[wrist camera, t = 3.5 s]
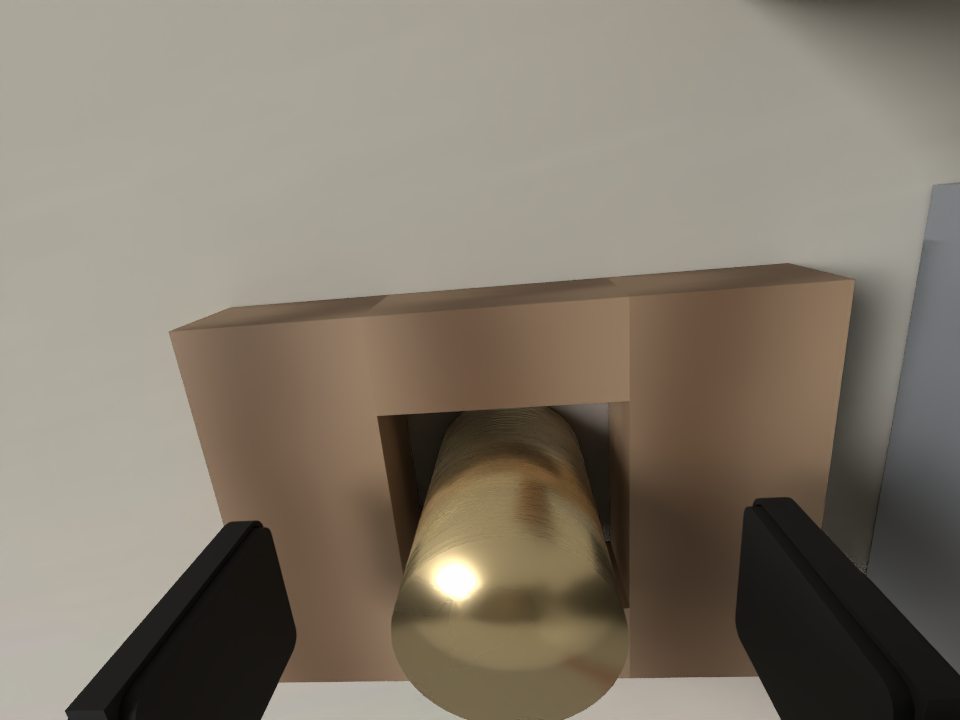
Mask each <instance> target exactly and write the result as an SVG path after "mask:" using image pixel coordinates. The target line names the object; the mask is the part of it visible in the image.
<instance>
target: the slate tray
mask: <svg viewBox="0 0 960 720" xmlns="http://www.w3.org/2000/svg"><path fill="white" fill-rule="evenodd" d="M866 576H867V577H868V578H869V579H870V580H871V581H872V582H873V583H874V584H875V585H876V586H877V587H878V588H879V589H880V590H881V592H882V593H883V594H884V595H885V596H886V597H887V598H888V599H889V600H890V601H891V602H892V603H893V604H894V605H895V606H896V608H897V609H898V610H899V611H900V612H901V613H902V614H903V615H904V616H905V617H906V618H907V619H908V620H909V621H910V622H911V624H912V625H913V626H914V627H915V628H916V629H917V630H918V631H919V632H920V633H921V634H922V635H923V636H924V637H925V638H926V640H927V641H928V642H929V643H930V644H931V645H932V646H933V647H934V648H935V649H936V650H937V651H938V652H939V653H940V654H941V655H942V657H943V658H944V659H945V660H946V661H947V662H948V663H949V664H950V665H951V666H952V667H953V668H954V669H955V670H956V671H957V673H958V674H959V675H960V183H950V184H939V185H933V190H932V196H931V202H930V208H929V213H928V219H927V225H926V231H925V237H924V243H923V248H922V254H921V260H920V266H919V272H918V278H917V283H916V289H915V295H914V301H913V307H912V312H911V318H910V324H909V330H908V336H907V342H906V347H905V353H904V359H903V365H902V371H901V376H900V382H899V388H898V394H897V400H896V406H895V411H894V417H893V423H892V429H891V435H890V441H889V446H888V452H887V458H886V464H885V470H884V475H883V481H882V487H881V493H880V499H879V505H878V510H877V516H876V522H875V528H874V534H873V539H872V545H871V551H870V557H869V563H868V569H867V574H866Z"/></svg>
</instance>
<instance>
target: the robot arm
mask: <svg viewBox="0 0 960 720" xmlns="http://www.w3.org/2000/svg"><path fill="white" fill-rule="evenodd" d="M735 623H736V629H737V633H738V636H739V639H740V641H741V643H742V645H743V647H744V649H745V651H746V653H747V655H748V657H749V659H750V660H751V662H752V664H753V666H754V668H755V670H756V672H757V674H758V676H759V678H760V680H761V682H762V684H763V686H764V687H765V689H766V691H767V693H768V695H769V697H770V699H771V701H772V703H773V705H774V707H775V709H776V711H777V713H778V715H779V716H780V718H781V720H960V675H959V674H958V673H957V671H956V670H955V669H954V668H953V667H952V666H951V665H950V664H949V663H948V662H947V661H946V660H945V659H944V658H943V657H942V655H941V654H940V653H939V652H938V651H937V650H936V649H935V648H934V647H933V646H932V645H931V644H930V643H929V642H928V641H927V640H926V638H925V637H924V636H923V635H922V634H921V633H920V632H919V631H918V630H917V629H916V628H915V627H914V626H913V625H912V624H911V622H910V621H909V620H908V619H907V618H906V617H905V616H904V615H903V614H902V613H901V612H900V611H899V610H898V609H897V608H896V606H895V605H894V604H893V603H892V602H891V601H890V600H889V599H888V598H887V597H886V596H885V595H884V594H883V593H882V592H881V590H880V589H879V588H878V587H877V586H876V585H875V584H874V583H873V582H872V581H871V580H870V579H869V578H868V577H867V576H866V575H864V574H863V573H862V572H860V571H859V570H858V568H857V567H856V566H855V565H854V564H853V563H852V562H851V561H850V560H849V559H848V558H847V557H846V556H845V554H844V553H843V552H842V551H841V550H840V549H839V548H838V547H837V546H836V545H835V544H834V543H833V542H832V541H831V539H830V538H829V537H828V536H827V535H826V534H825V533H824V532H823V531H822V530H821V529H820V528H819V527H818V526H817V524H816V523H815V522H814V521H813V520H812V519H811V518H810V517H809V516H808V515H807V514H806V513H805V512H804V510H803V509H802V508H801V507H800V506H799V505H798V504H797V503H796V502H795V501H794V500H793V499H792V498H790V497H773V498H757V499H755V500H754V502H753V506H749V507H746V508H745V510H744V515H743V527H742V540H741V552H740V564H739V576H738V589H737V601H736V613H735ZM296 638H297V632H296V627H295V623H294V619H293V615H292V611H291V607H290V603H289V599H288V595H287V591H286V588H285V584H284V580H283V576H282V572H281V568H280V564H279V560H278V556H277V552H276V548H275V545H274V541H273V537H272V533H271V531H270V529H269V528H267V527H264V526H263V524H262V523H261V522H260V521H257V520H254V521H232V522H228V523H227V524H226V525H225V526H224V527H223V528H222V529H221V531H220V532H219V533H218V534H217V535H216V536H215V538H214V539H213V540H212V541H211V542H210V543H209V544H208V546H207V547H206V548H205V549H204V550H203V551H202V553H201V554H200V555H199V556H198V557H197V558H196V560H195V561H194V562H193V563H192V564H191V565H190V567H189V568H188V569H187V570H186V571H185V572H184V573H183V575H182V576H181V577H180V578H179V579H178V580H177V582H176V583H175V584H174V585H173V586H172V587H171V589H170V590H169V591H168V592H167V593H166V594H165V595H164V597H163V598H162V599H161V600H160V601H159V602H158V604H157V605H156V606H155V607H154V608H153V609H152V611H151V612H150V613H149V614H148V615H147V616H146V618H145V619H144V620H143V621H142V622H141V623H140V624H139V626H138V627H137V628H136V629H135V630H134V631H133V633H132V634H131V635H130V636H129V637H128V638H127V640H126V641H125V642H124V643H123V644H122V645H121V647H120V648H119V649H118V650H117V651H116V652H115V653H114V655H113V656H112V657H111V658H110V659H109V660H108V662H107V663H106V664H105V665H104V666H103V667H102V669H101V670H100V671H99V672H98V673H97V674H96V675H95V677H94V678H93V679H92V680H91V681H90V682H89V684H88V685H87V686H86V687H85V688H84V689H83V691H82V692H81V693H80V694H79V695H78V696H77V698H76V699H75V700H74V701H73V702H72V703H71V704H70V706H69V707H68V708H67V709H66V710H65V712H66V714H67V716H68V720H261V718H262V716H263V714H264V712H265V710H266V708H267V705H268V703H269V701H270V699H271V697H272V695H273V693H274V691H275V689H276V687H277V684H278V682H279V680H280V678H281V676H282V674H283V672H284V670H285V668H286V665H287V663H288V661H289V659H290V657H291V655H292V653H293V650H294V648H295V644H296Z"/></svg>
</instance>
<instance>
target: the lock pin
mask: <svg viewBox="0 0 960 720" xmlns="http://www.w3.org/2000/svg"><path fill="white" fill-rule="evenodd" d="M391 639H392V645H393V649H394V653H395V656H396V658H397V660H398V663H399V665H400V667H401V669H402V670H403V672H404V673H405V675H406V677H407V678H408V679H409V680H410V682H411V683H412V684H413V685H414V686H415V688H417V689H418V690H419V691H420V692H421V693H422V694H423V695H424V696H425V697H426V698H428V699H429V700H430V701H432V702H433V703H434V704H436V705H438V706H439V707H441V708H443V709H444V710H446V711H448V712H450V713H452V714H454V715H457V716H459V717H461V718H464V719H467V720H563V719H566V718H569V717H571V716H573V715H575V714H577V713H579V712H581V711H583V710H585V709H587V708H588V707H590V706H591V705H593V704H594V703H595V702H597V701H598V700H599V699H600V698H601V697H602V696H604V695H605V694H606V692H607V691H608V690H609V689H610V688H611V687H612V686H613V684H614V683H615V681H616V680H617V678H618V677H619V675H620V673H621V671H622V669H623V667H624V664H625V661H626V658H627V654H628V647H629V630H628V624H627V620H626V616H625V612H624V609H623V605H622V601H621V597H620V594H619V590H618V586H617V582H616V579H615V575H614V571H613V568H612V564H611V560H610V556H609V553H608V549H607V545H606V542H605V538H604V534H603V530H602V527H601V523H600V519H599V516H598V512H597V508H596V504H595V501H594V497H593V493H592V489H591V486H590V482H589V478H588V475H587V471H586V467H585V463H584V460H583V456H582V452H581V449H580V445H579V442H578V439H577V437H576V435H575V433H574V431H573V430H572V428H571V426H570V425H569V424H568V423H567V422H566V420H565V419H564V418H563V417H562V416H560V415H559V414H558V413H557V412H555V411H554V410H553V409H551V408H549V407H548V406H538V407H521V408H504V409H487V410H470V411H464V412H463V413H461V414H460V415H459V416H458V417H457V418H456V419H455V420H454V422H453V423H452V424H451V425H450V427H449V428H448V430H447V432H446V434H445V436H444V438H443V441H442V444H441V448H440V451H439V454H438V458H437V461H436V465H435V468H434V472H433V475H432V479H431V482H430V486H429V489H428V493H427V496H426V499H425V503H424V506H423V510H422V513H421V517H420V520H419V524H418V527H417V531H416V534H415V537H414V541H413V544H412V548H411V551H410V555H409V558H408V562H407V565H406V569H405V572H404V576H403V579H402V582H401V586H400V589H399V593H398V596H397V600H396V603H395V607H394V611H393V615H392V620H391Z"/></svg>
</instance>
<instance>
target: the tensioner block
mask: <svg viewBox="0 0 960 720" xmlns="http://www.w3.org/2000/svg"><path fill="white" fill-rule="evenodd" d="M854 285H855V279H851V278H847V277H843V276H839V275H834V274H830V273H826V272H822V271H818V270H814V269H809V268H805V267H801V266H797V265H793V264H789V263H785V264H772V265H760V266H747V267H734V268H722V269H709V270H697V271H684V272H672V273H659V274H646V275H634V276H621V277H609V278H596V279H584V280H571V281H559V282H546V283H533V284H521V285H508V286H496V287H483V288H471V289H458V290H445V291H433V292H420V293H408V294H395V295H383V296H370V297H358V298H345V299H332V300H320V301H307V302H295V303H282V304H270V305H257V306H244V307H232V308H228V309H226V310H223V311H220V312H218V313H215V314H213V315H210V316H208V317H205V318H203V319H200V320H197V321H195V322H192V323H190V324H187V325H185V326H182V327H179V328H177V329H174V330H172V331H169V335H170V338H171V342H172V345H173V349H174V352H175V356H176V359H177V363H178V366H179V370H180V373H181V377H182V380H183V384H184V387H185V391H186V394H187V398H188V401H189V405H190V408H191V412H192V415H193V419H194V422H195V426H196V429H197V433H198V436H199V440H200V443H201V447H202V450H203V454H204V457H205V461H206V464H207V468H208V471H209V475H210V478H211V482H212V485H213V489H214V492H215V496H216V499H217V503H218V506H219V510H220V513H221V517H222V520H223V524H224V526H225V525H226V524H227V523H228V522H232V521H254V520H257V521H260V522H261V523H262V524H263V526H264V527H267V528H269V529H270V531H271V533H272V537H273V541H274V545H275V548H276V552H277V556H278V560H279V564H280V568H281V572H282V576H283V580H284V584H285V588H286V591H287V595H288V599H289V603H290V607H291V611H292V615H293V619H294V623H295V627H296V632H297V638H296V644H295V648H294V650H293V653H292V655H291V657H290V659H289V661H288V663H287V665H286V668H285V670H284V672H283V674H282V676H281V678H280V680H279V682H354V681H410V680H409V679H408V678H407V677H406V675H405V673H404V672H403V670H402V669H401V667H400V665H399V663H398V660H397V658H396V656H395V653H394V649H393V645H392V639H391V620H392V615H393V611H394V607H395V603H396V600H397V596H398V593H399V589H400V586H401V582H402V579H403V576H404V572H405V569H406V565H407V562H408V558H409V555H410V551H411V548H412V544H413V541H414V537H415V534H416V531H417V527H418V524H419V520H420V517H421V514H420V507H419V500H418V493H417V486H416V480H415V473H414V466H413V459H412V452H411V445H410V439H409V432H408V425H407V418H406V414H419V413H436V412H453V411H470V410H487V409H504V408H521V407H538V406H555V405H572V404H589V403H606V402H609V453H610V525H611V542H606V545H607V549H608V553H609V556H610V560H611V564H612V568H613V571H614V575H615V579H616V582H617V586H618V590H619V594H620V597H621V601H622V605H623V609H624V612H625V616H626V620H627V624H628V630H629V647H628V654H627V658H626V661H625V664H624V667H623V669H622V671H621V673H620V675H619V677H618V678H671V677H750V676H758V674H757V672H756V670H755V668H754V666H753V664H752V662H751V660H750V659H749V657H748V655H747V653H746V651H745V649H744V647H743V645H742V643H741V641H740V639H739V636H738V633H737V629H736V623H735V613H736V601H737V589H738V576H739V564H740V552H741V540H742V527H743V515H744V510H745V508H746V507H749V506H753V502H754V500H755V499H757V498H773V497H790V498H792V499H793V500H794V501H795V502H796V503H797V504H798V505H799V506H800V507H801V508H802V509H803V510H804V512H805V513H806V514H807V515H808V516H809V517H810V518H811V519H812V520H813V521H814V522H815V523H816V524H817V526H818V527H819V528H820V529H821V530H822V522H823V515H824V508H825V500H826V493H827V485H828V478H829V470H830V463H831V456H832V448H833V441H834V433H835V426H836V418H837V411H838V404H839V396H840V389H841V381H842V374H843V366H844V359H845V352H846V344H847V337H848V329H849V322H850V315H851V307H852V300H853V292H854Z"/></svg>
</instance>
